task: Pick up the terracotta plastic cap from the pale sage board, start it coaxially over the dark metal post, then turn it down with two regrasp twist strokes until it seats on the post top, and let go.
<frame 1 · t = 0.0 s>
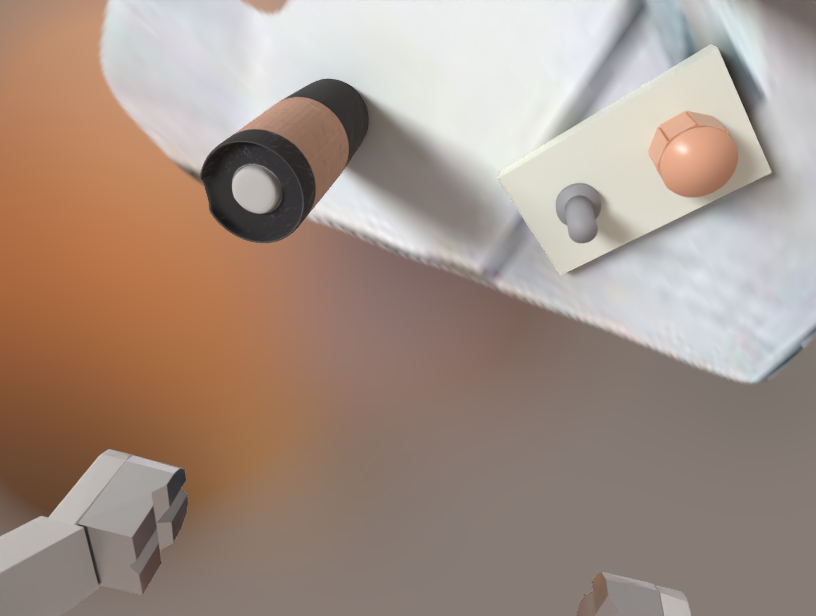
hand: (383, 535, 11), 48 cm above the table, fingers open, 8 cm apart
post board: (625, 168, 54), on the table
travel mug: (333, 116, 56), on the table
cap: (685, 145, 50), point 2 cm above the table, touching post board
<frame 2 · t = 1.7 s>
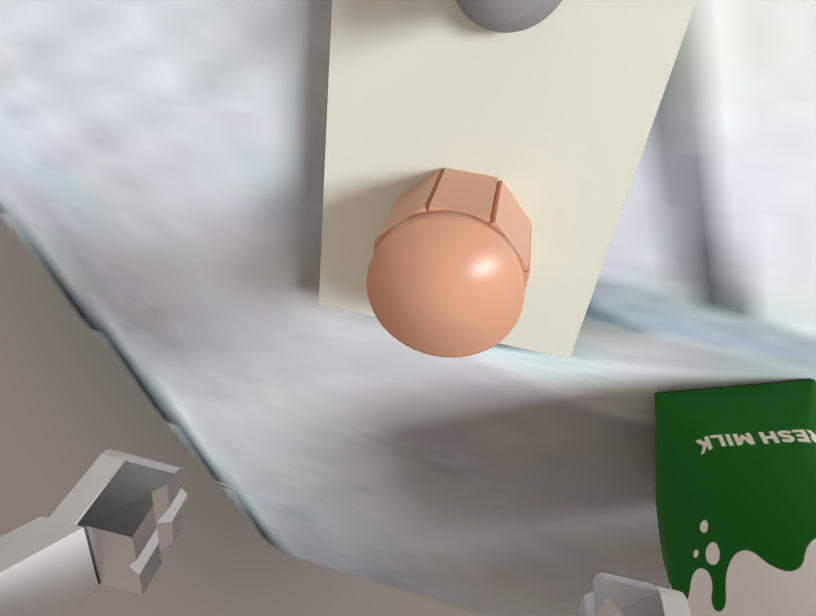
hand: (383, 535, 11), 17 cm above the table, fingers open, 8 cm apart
post board: (486, 103, 23), on the table
milk carton: (731, 435, 30), on the table
cap: (459, 235, 24), point 2 cm above the table, touching post board
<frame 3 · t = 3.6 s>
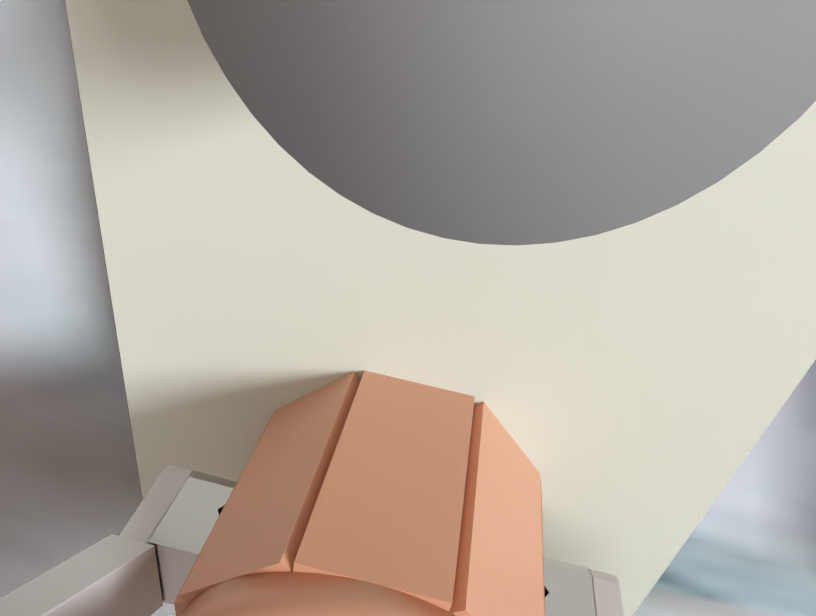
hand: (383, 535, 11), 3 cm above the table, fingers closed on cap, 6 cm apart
post board: (454, 231, 11), on the table
cap: (397, 481, 12), point 2 cm above the table, touching gripper, post board
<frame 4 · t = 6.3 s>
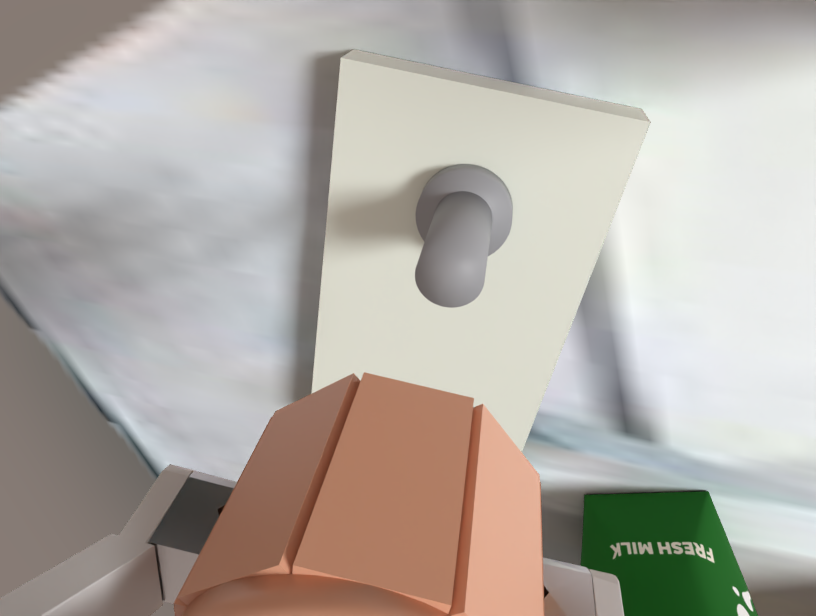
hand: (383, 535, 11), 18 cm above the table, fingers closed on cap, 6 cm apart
post board: (448, 284, 29), on the table
milk carton: (646, 527, 36), on the table
cap: (396, 482, 12), point 17 cm above the table, touching gripper
when the fingers open (6 cm above the table, at t = 8.9 s): cap stays where it is, resting on post board.
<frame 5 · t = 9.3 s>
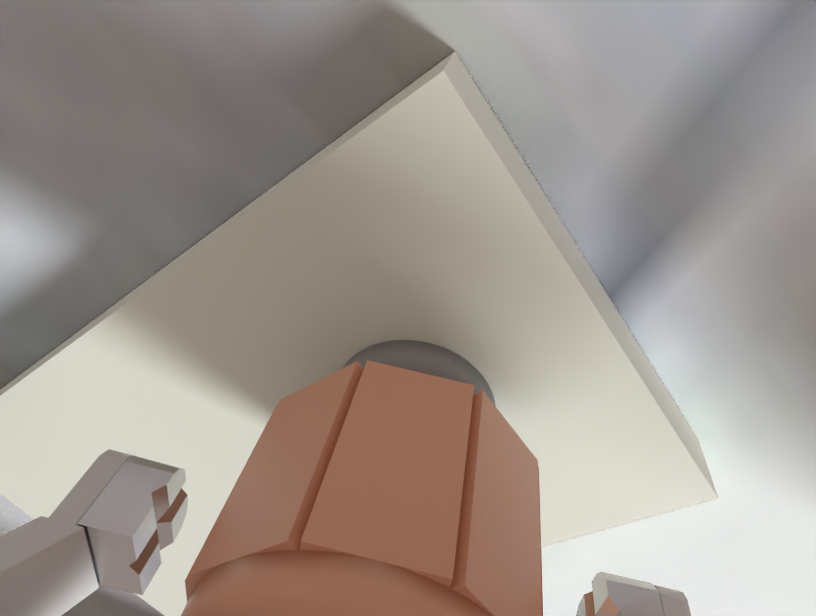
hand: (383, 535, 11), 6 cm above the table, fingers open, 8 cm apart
post board: (296, 419, 18), on the table
cap: (398, 469, 13), point 4 cm above the table, touching post board
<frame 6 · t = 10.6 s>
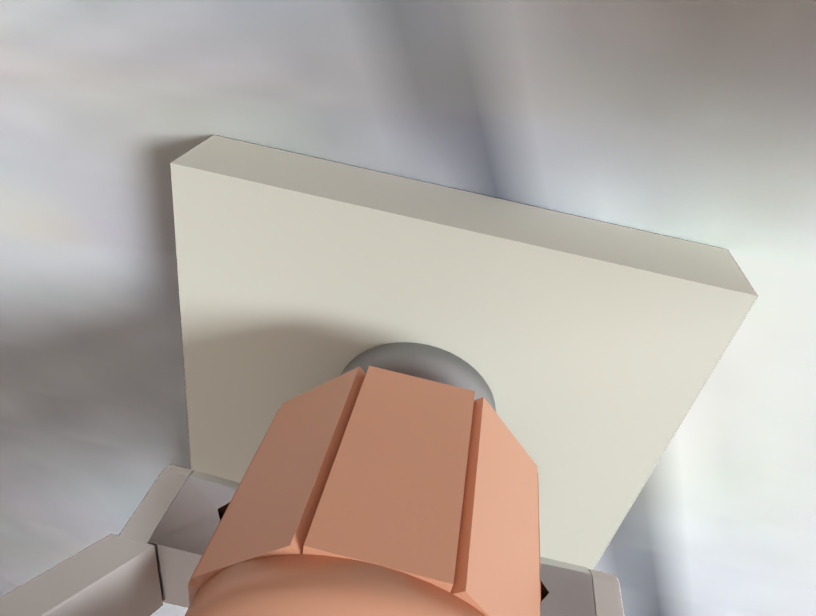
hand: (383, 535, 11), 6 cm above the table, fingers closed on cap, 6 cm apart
post board: (398, 477, 19), on the table
cap: (399, 473, 13), point 4 cm above the table, touching gripper, post board
when the fingers open (5 cm above the table, at t = 11.7 s): cap stays where it is, resting on post board.
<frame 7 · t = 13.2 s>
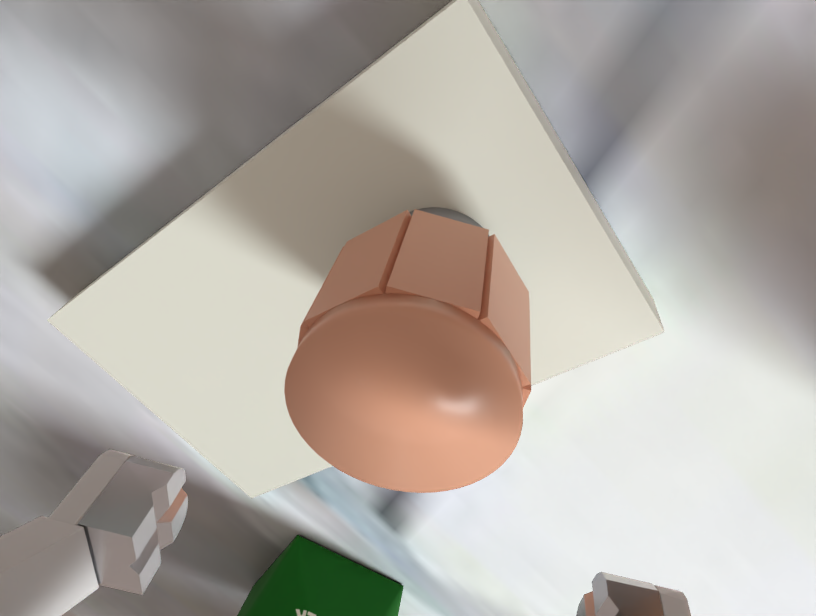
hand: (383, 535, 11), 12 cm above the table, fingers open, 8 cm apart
post board: (338, 296, 23), on the table
milk carton: (327, 581, 35), on the table
cap: (427, 300, 17), point 4 cm above the table, touching post board
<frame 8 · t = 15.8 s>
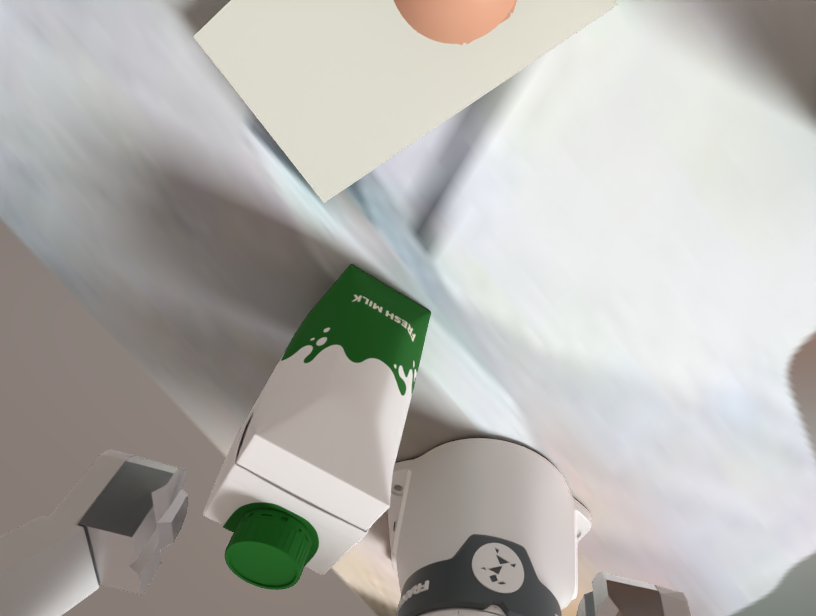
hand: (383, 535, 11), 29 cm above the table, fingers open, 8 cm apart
post board: (397, 17, 33), on the table
milk carton: (370, 317, 45), on the table
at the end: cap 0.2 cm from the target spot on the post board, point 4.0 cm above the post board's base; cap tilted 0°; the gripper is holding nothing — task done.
